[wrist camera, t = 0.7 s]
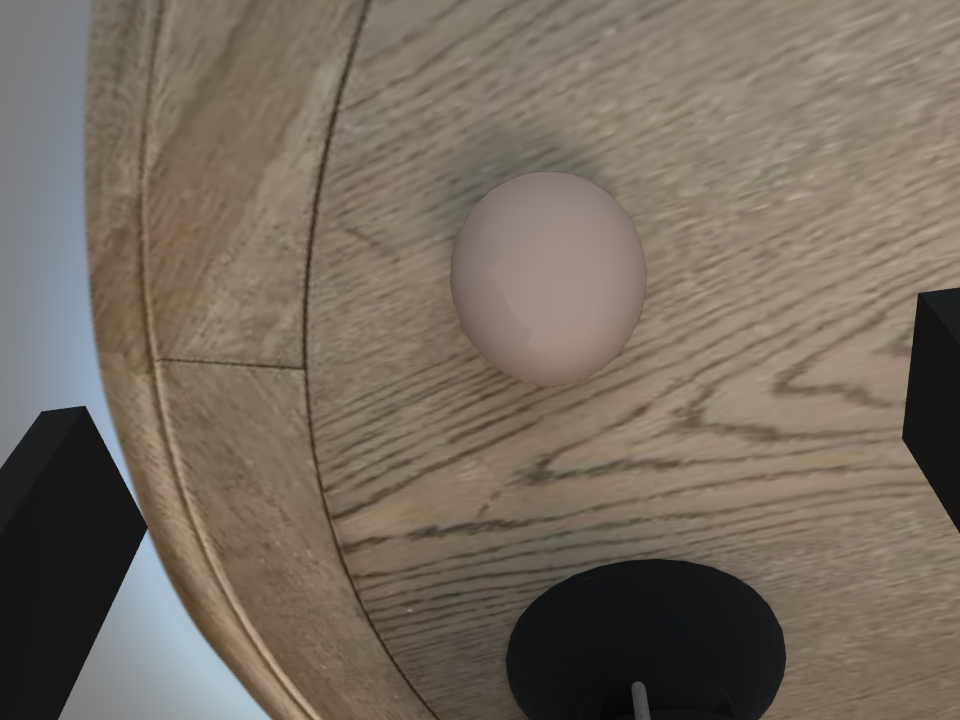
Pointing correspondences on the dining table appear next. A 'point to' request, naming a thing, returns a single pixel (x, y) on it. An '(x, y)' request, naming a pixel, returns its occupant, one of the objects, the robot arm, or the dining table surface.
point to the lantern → (647, 646)
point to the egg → (548, 278)
